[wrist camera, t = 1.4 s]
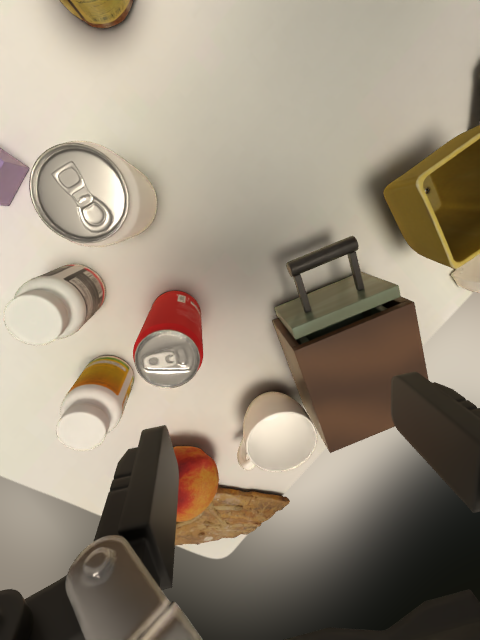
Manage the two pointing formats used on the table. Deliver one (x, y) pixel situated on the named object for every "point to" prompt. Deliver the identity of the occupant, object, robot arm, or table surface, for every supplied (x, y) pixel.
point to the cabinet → (355, 371)
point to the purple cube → (10, 177)
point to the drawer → (333, 295)
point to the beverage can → (170, 341)
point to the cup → (276, 434)
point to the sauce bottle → (99, 11)
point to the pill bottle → (54, 304)
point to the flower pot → (441, 202)
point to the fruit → (194, 481)
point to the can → (91, 194)
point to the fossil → (229, 516)
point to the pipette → (469, 275)
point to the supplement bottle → (95, 403)
